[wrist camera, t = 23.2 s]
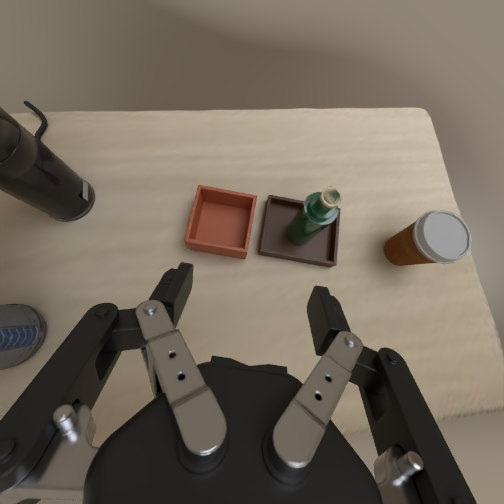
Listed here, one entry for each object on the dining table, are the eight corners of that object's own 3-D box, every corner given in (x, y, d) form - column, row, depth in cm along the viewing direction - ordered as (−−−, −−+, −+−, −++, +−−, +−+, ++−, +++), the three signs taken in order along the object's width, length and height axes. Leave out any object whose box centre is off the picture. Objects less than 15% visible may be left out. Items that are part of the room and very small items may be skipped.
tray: (258, 254, 48) (260, 251, 45) (267, 200, 51) (269, 194, 48) (330, 267, 48) (336, 264, 46) (334, 213, 51) (340, 208, 49)
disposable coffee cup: (372, 231, 51) (414, 208, 39) (412, 229, 52) (465, 206, 40) (381, 274, 49) (429, 264, 37) (423, 271, 50) (482, 260, 38)
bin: (190, 249, 47) (184, 241, 41) (201, 198, 49) (198, 184, 44) (245, 259, 47) (247, 252, 41) (254, 208, 50) (257, 195, 44)
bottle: (280, 233, 49) (304, 196, 33) (297, 215, 50) (328, 171, 34) (300, 251, 48) (335, 222, 32) (317, 233, 49) (358, 196, 33)
